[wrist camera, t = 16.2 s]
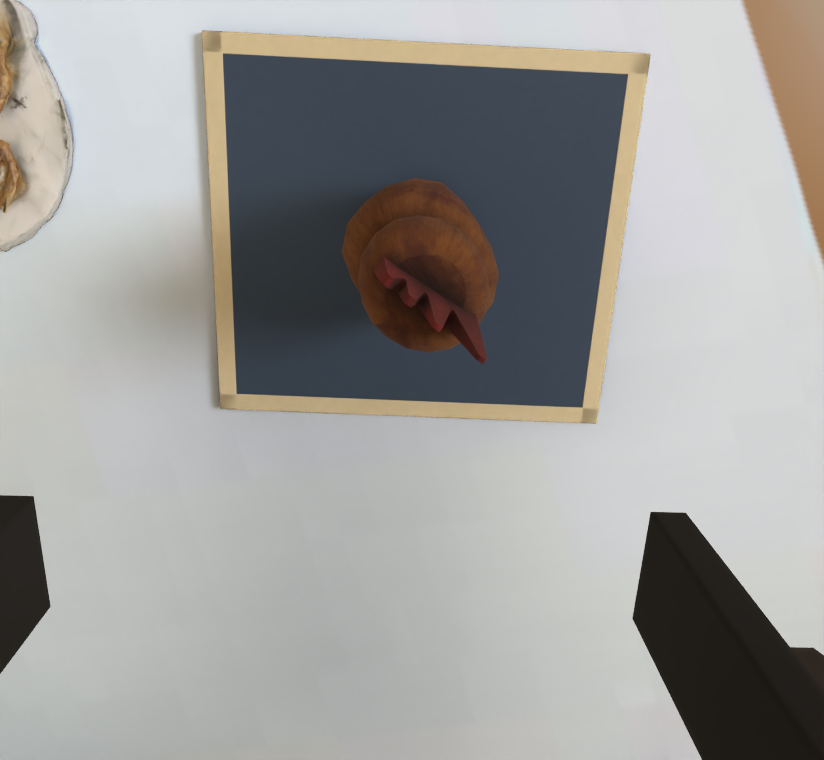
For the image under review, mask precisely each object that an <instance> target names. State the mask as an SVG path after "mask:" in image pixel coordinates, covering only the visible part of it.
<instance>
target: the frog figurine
mask: <svg viewBox="0 0 824 760" xmlns="http://www.w3.org/2000/svg"><path fill="white" fill-rule="evenodd" d="M37 32H38V31H37V27H36V23H35V20H34V17H33V14H32V13H31V11H30V10H28V9H27V8H26V7H25V6H23V5H22V4H21V3H19V2H17V1H15V0H0V249H1V250H3V251H5V252H7V251H8V250H10V249H11V248H12V247H14V246H17V245H19V244H21V243H23V242H25V241H27V240H28V239H31V238H32V237H33V236H34V235H35V233H36V232H37V231H38V230H39V229H40V228H41V225H43V224H44V223H45V222H46V221H47V222H48V221H49V220H50V219H51V218H52V215H53V213H54V212H55V211H56V210H57V209H58V208H59V204H60V202H61V200H62V197H63V194H62V192H63V191H64V189H65V187H66V185H67V182H68V179H69V176H70V171H71V168H72V156H73V144H72V142H73V141H72V132H71V125H70V122H69V120H68V116H67V114H66V112H65V104H64V101H63V99H62V96H61V93H60V91H59V88H58V86H57V84H56V81H55V79H54V77H53V76H52V73H51V71H50V69H49V67H48V65H47V64H46V62H45V60H44V58H43V57H42V56H41V55H40V53H39V51H38V50H37V49H36V47H35V45H34V43H35V39H36V36H37Z"/></svg>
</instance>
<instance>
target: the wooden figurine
mask: <svg viewBox="0 0 824 760" xmlns="http://www.w3.org/2000/svg"><path fill="white" fill-rule="evenodd" d="M342 254H343V257H344V260H345V263H346V265H347V268H348V271H349V273H350V276H351V279H352V281H353V283H354V285H355V286H356V288H357V290H358V291H359V293H360V295H361V300H362V304H363V306H364V308H365V310H366V312H367V314H368V316H369V318H370V320H371V322H372V323H373V324H374V325H375V326H376V327H377V328H378V329H379V330H380V331H381V332H382V333H383V334H384V335H385V336H386V337H387V338H388V339H390V340H392V341H394V342H395V343H397V344H399V345H401V346H402V347H404V348H406V349H411V350H416V351H421V352H426V353H430V352H435V351H440V350H446V349H451V348H453V347H455V346H456V345H458V344H460V343H461V344H462V345H463V346H464V347H465V348H466V349H467V350H468V351H469V352H470V354H471V355H472V356H473V357H474V358H475V359H476V360H477V361H479V362H480V363H482V364H484V363H485V361H486V360H487V356H486V352H485V348H484V344H483V339H482V335H481V331H480V327H479V324H480V322H481V321H482V319H483V317H484V316H485V313H486V311H487V310H488V309H489V307H490V306H491V305H492V303H493V301H494V296H495V292H496V287H497V283H498V278H499V271H498V268H497V264H496V261H495V258H494V254H493V251H492V247H491V245H490V243H489V241H488V239H487V237H486V236H485V234H484V232H483V230H482V228H481V226H480V224H479V223H478V221H477V220H476V219H475V217H474V216H473V215H472V213H471V212H470V210H469V209H468V208H467V206H466V205H465V204H464V202H463V201H462V200H461V199H460V198H459V197H458V196H456V195H455V194H454V193H453V192H452V191H451V190H450V189H449V188H448V187H446V186H445V185H444V184H443V183H442V182H437V181H431V180H425V179H419V178H413V179H409V180H406V181H402V182H399V183H395V184H392V185H388V186H386V187H385V188H383V189H382V190H381V191H379V192H378V193H376V194H375V195H374V196H372V197H371V198H369V199H368V200H367V201H365V202H364V203H363V205H362V206H361V207H360V208H359V210H358V211H357V212H356V213H355V214H354V216H353V217H352V218H351V219H350V221H349V222H348V223H347V226H346V232H345V237H344V242H343V247H342Z"/></svg>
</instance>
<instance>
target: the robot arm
mask: <svg viewBox="0 0 824 760" xmlns="http://www.w3.org/2000/svg"><path fill="white" fill-rule="evenodd" d="M49 608H50V601H49V594H48V588H47V581H46V575H45V568H44V562H43V555H42V549H41V542H40V536H39V529H38V523H37V516H36V510H35V503H34V497H33V496H0V673H1V672H2V671H3V669H4V668H5V667H6V665H7V664H8V663H9V661H10V660H11V659H12V657H13V656H14V655H15V653H16V652H17V651H18V649H19V648H20V647H21V645H22V644H23V643H24V641H25V640H26V639H27V637H28V636H29V635H30V633H31V632H32V631H33V629H34V628H35V626H36V625H37V624H38V622H39V621H40V620H41V618H42V617H43V616H44V614H45V613H46V612H47V610H48V609H49ZM633 620H634V622H635V624H636V626H637V628H638V630H639V632H640V634H641V637H642V639H643V641H644V643H645V645H646V647H647V649H648V651H649V653H650V655H651V657H652V659H653V661H654V663H655V665H656V667H657V669H658V671H659V673H660V675H661V677H662V679H663V681H664V683H665V685H666V687H667V689H668V691H669V693H670V695H671V697H672V699H673V702H674V704H675V706H676V708H677V710H678V712H679V714H680V716H681V718H682V720H683V722H684V724H685V726H686V728H687V730H688V732H689V734H690V736H691V738H692V740H693V742H694V744H695V746H696V748H697V750H698V752H699V754H700V756H701V758H702V760H824V655H822V654H821V653H820V652H818V651H817V650H815V649H814V648H792V647H789V646H788V644H787V643H786V642H785V640H784V639H783V638H782V636H781V635H780V634H779V633H778V631H777V630H776V629H775V627H774V626H773V625H772V624H771V622H770V621H769V620H768V618H767V617H766V616H765V615H764V613H763V612H762V611H761V609H760V608H759V607H758V606H757V604H756V603H755V602H754V600H753V599H752V598H751V596H750V595H749V594H748V593H747V591H746V590H745V589H744V587H743V586H742V585H741V584H740V582H739V581H738V580H737V578H736V577H735V576H734V575H733V573H732V572H731V571H730V569H729V568H728V567H727V565H726V564H725V563H724V562H723V560H722V559H721V558H720V556H719V555H718V554H717V553H716V551H715V550H714V549H713V547H712V546H711V545H710V544H709V542H708V541H707V540H706V538H705V537H704V536H703V535H702V533H701V532H700V531H699V529H698V528H697V527H696V525H695V524H694V523H693V522H692V520H691V519H690V518H689V516H688V515H687V514H686V513H669V512H651V514H650V520H649V526H648V531H647V537H646V543H645V549H644V555H643V561H642V567H641V572H640V578H639V584H638V590H637V596H636V602H635V608H634V613H633Z"/></svg>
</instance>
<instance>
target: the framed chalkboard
mask: <svg viewBox="0 0 824 760" xmlns="http://www.w3.org/2000/svg"><path fill="white" fill-rule="evenodd" d="M202 45H203V65H204V86H205V106H206V126H207V147H208V167H209V187H210V208H211V228H212V248H213V269H214V289H215V309H216V329H217V350H218V370H219V390H220V408H221V409H240V410H265V411H291V412H316V413H342V414H367V415H393V416H418V417H444V418H469V419H495V420H520V421H546V422H571V423H597V417H598V410H599V403H600V397H601V390H602V383H603V376H604V369H605V362H606V355H607V349H608V342H609V335H610V328H611V321H612V314H613V307H614V300H615V294H616V287H617V280H618V273H619V266H620V259H621V252H622V246H623V239H624V232H625V225H626V218H627V211H628V204H629V198H630V191H631V184H632V177H633V170H634V163H635V156H636V150H637V143H638V136H639V129H640V122H641V115H642V108H643V102H644V95H645V88H646V81H647V74H648V67H649V60H650V54H645V53H626V52H607V51H587V50H568V49H549V48H530V47H510V46H491V45H472V44H453V43H434V42H414V41H395V40H376V39H357V38H337V37H318V36H299V35H280V34H261V33H241V32H222V31H202ZM413 178H419V179H425V180H431V181H437V182H442V183H443V184H444V185H445V186H446V187H448V188H449V189H450V190H451V191H452V192H453V193H454V194H455V195H456V196H458V197H459V198H460V199H461V200H462V201H463V202H464V204H465V205H466V206H467V208H468V209H469V210H470V212H471V213H472V215H473V216H474V217H475V219H476V220H477V221H478V223H479V224H480V226H481V228H482V230H483V232H484V234H485V236H486V237H487V239H488V241H489V243H490V245H491V247H492V251H493V254H494V258H495V261H496V264H497V268H498V271H499V278H498V283H497V287H496V292H495V296H494V301H493V303H492V305H491V306H490V307H489V309H488V310H487V311H486V313H485V316H484V317H483V319H482V321H481V322H480V324H479V327H480V331H481V335H482V339H483V344H484V348H485V352H486V356H487V360H486V361H485V363H484V364H482V363H480V362H479V361H477V360H476V359H475V358H474V357H473V356H472V355H471V354H470V352H469V351H468V350H467V349H466V348H465V347H464V346H463V345H462V344H461V343H460V344H458V345H456V346H455V347H453V348H451V349H446V350H440V351H435V352H430V353H426V352H421V351H416V350H411V349H406V348H404V347H402V346H401V345H399V344H397V343H395V342H394V341H392V340H390V339H388V338H387V337H386V336H385V335H384V334H383V333H382V332H381V331H380V330H379V329H378V328H377V327H376V326H375V325H374V324H373V323H372V322H371V320H370V318H369V316H368V314H367V312H366V310H365V308H364V306H363V304H362V300H361V295H360V293H359V291H358V290H357V288H356V286H355V285H354V283H353V281H352V279H351V276H350V273H349V271H348V268H347V265H346V263H345V260H344V257H343V254H342V247H343V242H344V237H345V232H346V226H347V223H348V222H349V221H350V219H351V218H352V217H353V216H354V214H355V213H356V212H357V211H358V210H359V208H360V207H361V206H362V205H363V203H364V202H365V201H367V200H368V199H369V198H371V197H372V196H374V195H375V194H376V193H378V192H379V191H381V190H382V189H383V188H385V187H386V186H388V185H392V184H395V183H399V182H402V181H406V180H409V179H413Z"/></svg>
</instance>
